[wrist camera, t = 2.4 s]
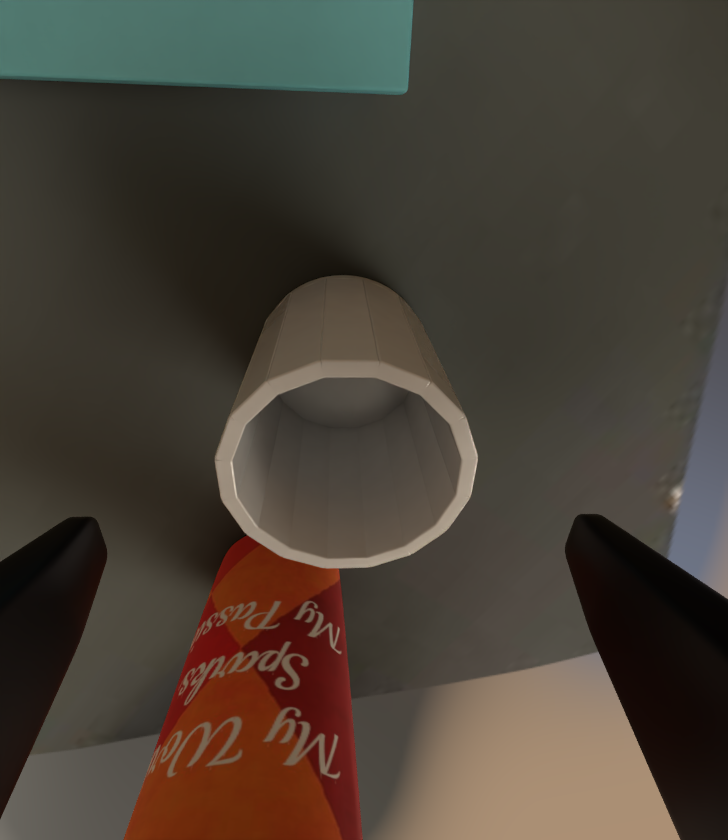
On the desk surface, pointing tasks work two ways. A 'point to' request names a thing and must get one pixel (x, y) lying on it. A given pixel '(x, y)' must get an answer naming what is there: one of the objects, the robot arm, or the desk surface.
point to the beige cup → (345, 431)
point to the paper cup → (259, 713)
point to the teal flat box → (211, 43)
